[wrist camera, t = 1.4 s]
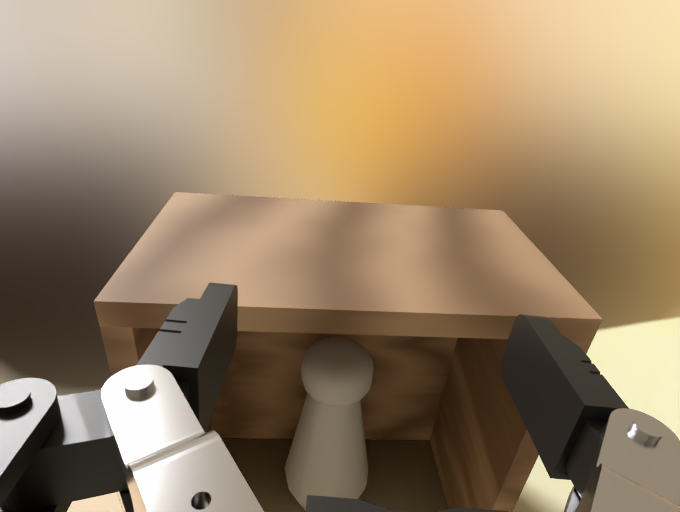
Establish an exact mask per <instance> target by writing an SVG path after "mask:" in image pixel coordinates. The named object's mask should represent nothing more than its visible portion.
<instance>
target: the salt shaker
mask: <svg viewBox="0 0 680 512" xmlns="http://www.w3.org/2000/svg"><path fill="white" fill-rule="evenodd" d="M373 372H374V366H373V360H372V358H371V356H370V353H369V351H368V350H366V349H365V348H364V347H362V346H361V345H360V344H359V343H357V342H356V341H354V340H351V339H348V338H345V337H329V338H325V339H321V340H319V341H317V342H315V343H314V344H313V345H312V346H310V347H309V348H308V349H307V351H306V354H305V356H304V358H303V362H302V365H301V377H302V381H303V384H304V388H305V390H306V391H307V392H308V393H307V396H306V400H305V403H304V406H303V409H302V413H301V416H300V419H299V422H298V426H297V429H296V432H295V435H294V439H293V442H292V445H291V448H290V452H289V455H288V458H287V461H286V465H285V473H286V478H287V484H288V488H289V490H290V492H291V493H292V494H293V496H294V497H295V499H296V500H297V501H298V503H299V504H300V505H301V506H302V508H303V509H304V510H305V508H306V500H307V495H315V496H327V497H339V498H352V499H358V498H359V497H360V495H361V494H362V493H363V492H364V490H365V488H366V484H367V476H368V461H367V452H366V444H365V435H364V426H363V418H362V409H361V399H362V398H363V397H364V396H365V395H366V394H367V393H368V391H369V390H370V387H371V383H372V378H373Z"/></svg>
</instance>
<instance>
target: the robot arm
mask: <svg viewBox="0 0 680 512" xmlns="http://www.w3.org/2000/svg"><path fill="white" fill-rule="evenodd" d="M237 318H238V288H237V285H232V284H222V283H212V282H210V283H209V284H208V286H207V287H206V289H205V291H204V293H203V294H202V296H201V298H200V299H194V298H187V299H186V300H184V301H183V302H181V303H180V304H178V305H177V306H175V307H174V308H173V309H172V311H171V312H170V314H169V315H168V317H167V319H166V322H164V323H163V325H162V326H161V328H160V331H158V332H157V334H156V336H155V337H154V339H153V340H152V342H151V343H150V345H149V346H148V348H147V350H146V351H145V353H144V354H143V356H142V357H141V359H140V360H139V362H138V363H137V365H136V366H133V367H129V368H126V369H124V370H122V371H120V372H118V373H116V374H115V375H113V376H112V377H111V378H110V379H109V380H108V381H107V382H106V383H105V385H104V386H103V388H102V389H100V390H97V391H91V392H85V393H78V394H71V395H64V396H57V393H56V389H55V387H54V385H53V384H52V383H50V382H49V381H46V380H43V379H39V378H24V379H17V380H13V381H9V382H6V383H3V384H1V385H0V512H67V510H68V508H69V506H70V504H71V502H72V501H77V500H82V499H86V498H91V497H96V496H100V495H105V494H110V493H114V492H117V494H118V497H119V500H120V503H121V507H122V510H123V512H264V511H263V509H262V507H261V506H260V504H259V502H258V500H257V499H256V497H255V495H254V494H253V492H252V490H251V489H250V487H249V485H248V483H247V482H246V480H245V478H244V477H243V475H242V473H241V472H240V470H239V468H238V466H237V465H236V463H235V461H234V460H233V458H232V456H231V455H230V453H229V451H228V449H227V448H226V446H225V444H224V443H223V441H222V439H221V438H220V436H219V435H218V434H217V432H216V431H214V430H211V431H208V432H206V430H207V427H208V424H209V421H210V419H211V416H212V413H213V410H214V407H215V404H216V402H217V399H218V396H219V393H220V390H221V388H222V385H223V382H224V379H225V376H226V373H227V371H228V368H229V365H230V362H231V359H232V357H233V354H234V350H235V346H236V340H237ZM501 374H502V378H503V380H504V383H505V385H506V387H507V389H508V391H509V393H510V395H511V397H512V399H513V401H514V403H515V405H516V408H517V410H518V412H519V414H520V416H521V418H522V420H523V422H524V424H525V426H526V428H527V430H528V433H529V435H530V437H531V439H532V441H533V443H534V445H535V447H536V449H537V451H538V453H539V455H540V458H541V460H542V462H543V464H544V466H545V468H546V470H547V472H548V474H549V476H550V478H555V479H567V480H571V481H572V483H573V485H574V487H573V489H572V491H571V493H570V495H569V497H568V500H567V503H566V506H565V510H564V512H680V441H679V439H678V438H677V436H676V435H675V434H674V433H673V432H672V431H671V430H670V429H669V428H668V427H667V426H665V425H664V424H663V423H661V422H660V421H658V420H657V419H655V418H653V417H651V416H649V415H647V414H645V413H643V412H640V411H637V410H633V409H629V408H628V407H627V406H626V404H625V403H624V402H623V401H622V399H621V398H620V397H619V396H618V394H617V393H616V392H615V390H614V389H613V388H612V387H611V385H610V384H609V383H608V382H607V380H606V379H605V378H604V376H603V375H600V371H599V370H598V369H597V368H596V366H595V365H594V364H591V360H590V359H589V357H588V356H587V355H586V354H585V352H584V351H583V350H582V349H581V348H580V347H579V346H578V345H576V344H575V343H574V342H572V341H571V340H570V339H568V338H567V337H566V336H562V335H561V333H560V332H559V331H558V329H557V328H556V327H555V325H554V324H553V323H552V321H551V320H550V319H549V318H548V317H543V316H533V315H523V314H520V315H518V316H517V317H516V319H515V321H514V324H513V327H512V330H511V332H510V335H509V338H508V341H507V344H506V347H505V350H504V353H503V356H502V360H501ZM305 512H395V511H392V510H389V509H386V508H383V507H380V506H377V505H374V504H371V503H368V502H365V501H362V500H359V499H352V498H339V497H327V496H315V495H307V500H306V508H305ZM437 512H509V511H501V510H488V509H476V508H463V507H458V508H453V509H448V510H443V511H437Z"/></svg>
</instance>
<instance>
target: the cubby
mask: <svg viewBox="0 0 680 512" xmlns="http://www.w3.org/2000/svg"><path fill="white" fill-rule="evenodd" d="M210 282H212V283H222V284H232V285H237V288H238V318H237V340H236V346H235V350H234V354H233V357H232V359H231V362H230V365H229V368H228V371H227V373H226V376H225V379H224V382H223V385H222V388H221V390H220V393H219V396H218V399H217V402H216V404H215V407H214V410H213V413H212V416H211V419H210V421H209V424H208V427H207V430H206V432H208V431H211V430H214V431H216V432H217V434H218V435H219V436H220V438H280V439H294V435H295V432H296V429H297V426H298V422H299V419H300V416H301V413H302V409H303V406H304V403H305V400H306V396H307V393H308V392H307V391H306V390H305V388H304V384H303V381H302V377H301V365H302V362H303V358H304V356H305V354H306V351H307V349H308V348H309V347H310V346H312V345H313V344H314V343H315V342H317V341H319V340H321V339H325V338H329V337H345V338H348V339H351V340H354V341H356V342H357V343H359V344H360V345H361V346H362V347H364V348H365V349H366V350H368V351H369V353H370V356H371V358H372V360H373V366H374V372H373V378H372V383H371V387H370V390H369V391H368V393H367V394H366V395H365V396H364V397H363V398H362V399H361V409H362V418H363V426H364V435H365V439H376V440H430V443H431V447H432V450H433V454H434V458H435V462H436V465H437V469H438V473H439V477H440V480H441V484H442V488H443V492H444V495H445V499H446V503H447V507H448V509H453V508H458V507H463V508H476V509H488V510H501V511H509V512H512V511H513V509H514V507H515V504H516V502H517V500H518V498H519V496H520V494H521V492H522V490H523V487H524V485H525V483H526V481H527V479H528V477H529V475H530V472H531V470H532V468H533V466H534V464H535V462H536V460H537V458H538V455H539V453H538V451H537V449H536V447H535V445H534V443H533V441H532V439H531V437H530V435H529V433H528V430H527V428H526V426H525V424H524V422H523V420H522V418H521V416H520V414H519V412H518V410H517V408H516V405H515V403H514V401H513V399H512V397H511V395H510V393H509V391H508V389H507V387H506V385H505V383H504V380H503V378H502V374H501V360H502V356H503V353H504V350H505V347H506V344H507V341H508V338H509V335H510V332H511V330H512V327H513V324H514V321H515V319H516V317H517V316H518V315H520V314H523V315H533V316H543V317H548V318H549V319H550V320H551V321H552V323H553V324H554V325H555V327H556V328H557V329H558V331H559V332H560V333H561V335H562V336H566V337H567V338H568V339H570V340H571V341H572V342H574V343H575V344H576V345H578V346H579V347H580V348H581V349H582V350H583V351H584V352H585V354H586V353H587V351H588V349H589V347H590V345H591V342H592V340H593V338H594V336H595V334H596V332H597V330H598V328H599V325H600V323H601V321H602V318H601V317H600V316H599V315H598V314H597V313H596V312H595V311H594V310H593V308H592V307H591V306H590V305H589V304H588V303H587V302H586V301H585V300H584V299H583V298H582V296H581V295H580V294H579V293H578V292H577V291H576V290H575V289H574V288H573V287H572V286H571V284H570V283H569V282H568V281H567V280H566V279H565V278H564V277H563V276H562V275H561V274H560V273H559V271H557V269H556V268H555V267H554V266H553V265H552V264H551V263H550V262H549V261H548V260H547V259H546V257H545V256H544V255H543V254H542V253H541V252H540V251H539V250H538V249H537V248H536V246H535V245H534V244H533V243H532V242H531V241H530V240H529V239H528V238H527V237H526V236H525V235H524V233H523V232H522V231H521V230H520V229H519V228H518V227H517V226H516V225H515V224H514V223H513V221H512V220H510V218H509V217H508V216H507V215H506V214H505V213H504V212H503V211H500V210H482V209H464V208H446V207H429V206H428V207H427V206H410V205H394V204H376V203H358V202H340V201H322V200H305V199H286V198H269V197H268V198H267V197H251V196H234V195H232V196H231V195H216V194H198V193H180V192H175V193H174V195H173V196H172V197H171V199H170V200H169V201H168V203H167V204H166V205H165V207H164V208H163V209H162V211H161V212H160V213H159V215H158V216H157V217H156V219H155V220H154V221H153V223H152V224H151V225H150V227H149V228H148V229H147V231H146V232H145V233H144V235H143V236H142V237H141V239H140V240H139V241H138V243H137V244H136V245H135V247H134V248H133V249H132V251H131V252H130V253H129V255H128V256H127V257H126V259H125V260H124V262H123V263H122V264H121V265H120V267H119V268H118V269H117V271H116V272H115V273H114V275H113V276H112V277H111V279H110V280H109V282H108V283H107V284H106V286H105V287H104V288H103V290H102V291H101V292H100V294H99V295H98V296H97V298H96V299H95V300H94V304H95V308H96V313H97V317H98V321H99V325H100V329H101V334H102V338H103V342H104V346H105V350H106V355H107V359H108V363H109V368H110V372H111V376H113V375H115V374H116V373H118V372H120V371H122V370H124V369H126V368H129V367H133V366H136V365H137V363H138V362H139V360H140V359H141V357H142V356H143V354H144V353H145V351H146V350H147V348H148V346H149V345H150V343H151V342H152V340H153V339H154V337H155V336H156V334H157V332H158V331H160V328H161V326H162V325H163V323H164V322H166V319H167V317H168V315H169V314H170V312H171V311H172V309H173V308H174V307H175V306H177V305H178V304H180V303H181V302H183V301H184V300H186V299H187V298H194V299H200V298H201V296H202V294H203V293H204V291H205V289H206V287H207V286H208V284H209V283H210Z"/></svg>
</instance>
